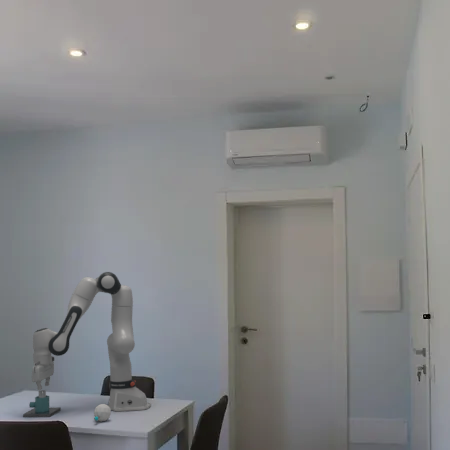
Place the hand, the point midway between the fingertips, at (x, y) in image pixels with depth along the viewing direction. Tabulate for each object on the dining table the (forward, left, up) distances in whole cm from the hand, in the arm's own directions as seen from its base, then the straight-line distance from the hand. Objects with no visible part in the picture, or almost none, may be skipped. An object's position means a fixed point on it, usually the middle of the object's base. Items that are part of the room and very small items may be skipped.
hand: (43, 387), depth 302 cm
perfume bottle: (-35, +18, -13) cm, 42 cm away
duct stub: (+1, 0, -13) cm, 13 cm away
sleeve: (+2, 0, -12) cm, 12 cm away
